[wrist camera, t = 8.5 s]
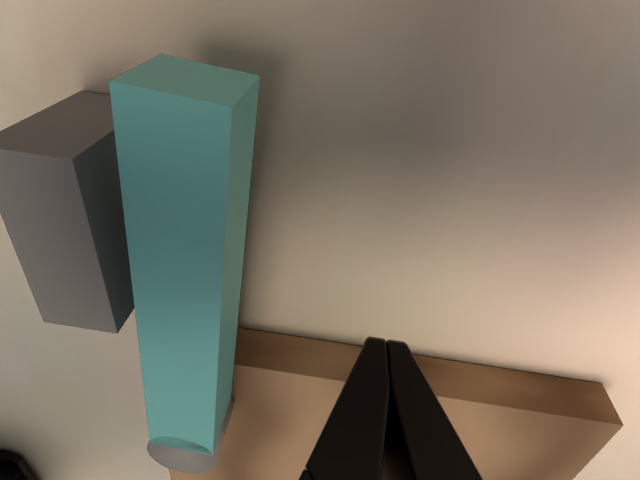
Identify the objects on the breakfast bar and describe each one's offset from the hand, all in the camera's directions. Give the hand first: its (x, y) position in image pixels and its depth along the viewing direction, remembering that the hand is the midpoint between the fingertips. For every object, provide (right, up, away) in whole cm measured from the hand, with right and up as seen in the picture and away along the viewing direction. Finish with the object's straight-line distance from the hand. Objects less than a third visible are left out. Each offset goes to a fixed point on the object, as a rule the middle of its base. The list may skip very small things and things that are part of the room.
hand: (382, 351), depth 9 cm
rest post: (-8, +5, +6) cm, 11 cm away
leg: (-5, 0, +6) cm, 8 cm away
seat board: (+1, -8, +14) cm, 16 cm away
